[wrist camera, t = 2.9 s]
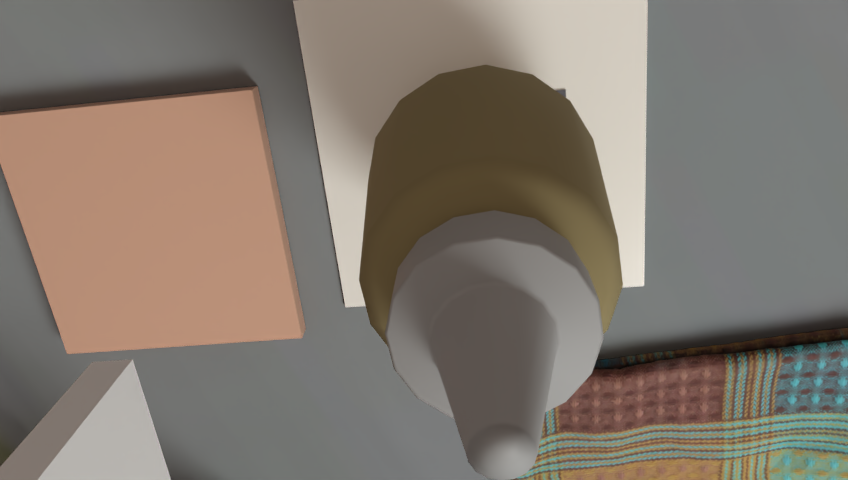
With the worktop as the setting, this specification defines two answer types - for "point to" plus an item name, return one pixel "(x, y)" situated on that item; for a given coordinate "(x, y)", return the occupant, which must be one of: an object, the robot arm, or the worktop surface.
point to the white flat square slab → (464, 48)
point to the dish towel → (707, 415)
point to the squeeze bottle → (489, 256)
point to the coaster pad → (154, 220)
